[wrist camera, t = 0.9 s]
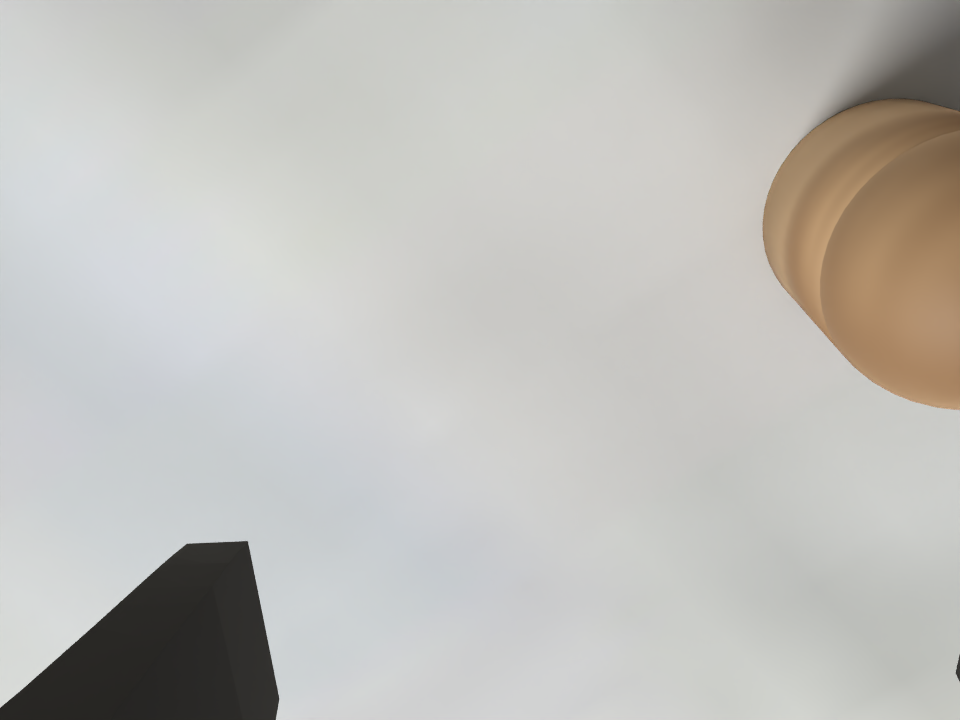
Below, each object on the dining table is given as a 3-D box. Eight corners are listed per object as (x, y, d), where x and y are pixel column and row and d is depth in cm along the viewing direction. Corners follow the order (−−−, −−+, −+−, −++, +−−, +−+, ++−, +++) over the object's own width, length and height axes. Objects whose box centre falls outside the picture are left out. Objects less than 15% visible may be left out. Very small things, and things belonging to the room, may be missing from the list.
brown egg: (1045, 183, 17) (1292, 275, 11) (883, 360, 18) (1033, 512, 13) (871, 49, 16) (1047, 80, 11) (716, 246, 17) (802, 358, 12)
